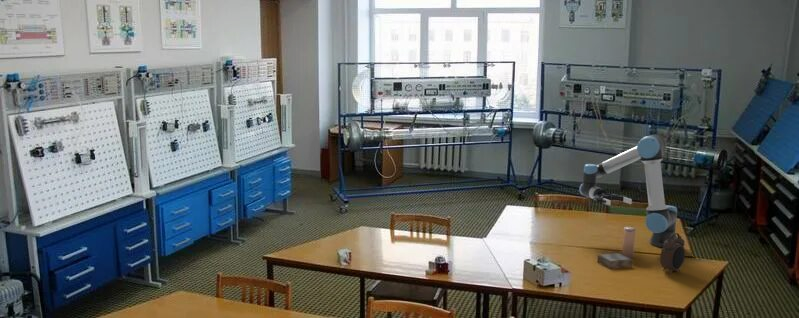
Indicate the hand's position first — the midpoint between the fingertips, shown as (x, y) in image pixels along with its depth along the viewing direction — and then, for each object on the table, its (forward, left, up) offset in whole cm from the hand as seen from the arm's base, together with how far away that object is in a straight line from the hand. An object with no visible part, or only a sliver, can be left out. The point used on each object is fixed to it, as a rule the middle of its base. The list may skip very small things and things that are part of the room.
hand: (620, 202), depth 394 cm
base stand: (+15, +20, -28) cm, 38 cm away
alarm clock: (-7, +38, -28) cm, 48 cm away
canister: (0, +10, -28) cm, 30 cm away
